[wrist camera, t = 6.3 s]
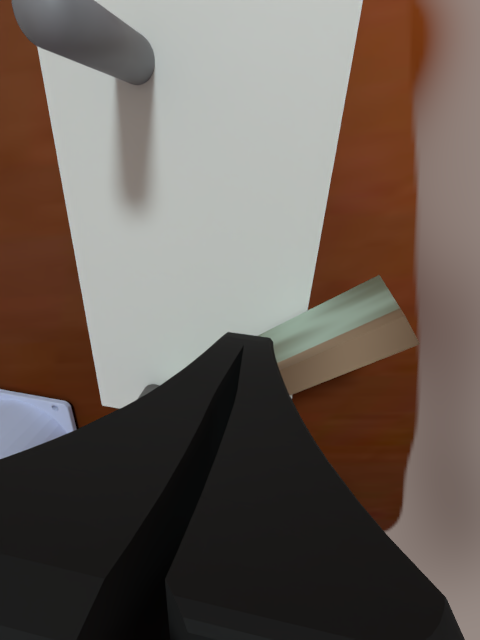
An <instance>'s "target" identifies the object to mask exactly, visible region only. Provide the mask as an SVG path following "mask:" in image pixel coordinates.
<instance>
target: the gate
mask: <svg viewBox="0 0 480 640" xmlns="http://www.w3.org/2000/svg"><path fill="white" fill-rule="evenodd" d="M258 336H261V337H268V338H271V340H272V341H273V347H274V353H275V357H276V361H277V364H278V367H279V370H280V373H281V375H282V378H283V381H284V383H285V386H286V388H287V390H288V393H289V395H292V394H295V393H297V392H300V391H302V390H305V389H307V388H310V387H313V386H315V385H318V384H320V383H323V382H325V381H328V380H330V379H333V378H335V377H338V376H340V375H343V374H345V373H348V372H350V371H353V370H355V369H358V368H361V367H363V366H366V365H368V364H371V363H373V362H376V361H378V360H381V359H383V358H386V357H388V356H391V355H393V354H396V353H398V352H401V351H403V350H406V349H409V348H411V347H414V346H416V345H419V342H418V340H417V338H416V336H415V334H414V332H413V330H412V328H411V326H410V324H409V323H408V321H407V319H406V317H405V315H404V313H403V312H402V310H401V309H400V307H399V306H398V304H397V303H396V301H395V299H394V298H393V296H392V295H391V293H390V291H389V290H388V288H387V287H386V285H385V283H384V282H383V280H382V279H381V277H380V275H378V276H376V277H374V278H372V279H370V280H368V281H366V282H364V283H362V284H360V285H358V286H356V287H354V288H352V289H350V290H348V291H346V292H344V293H342V294H340V295H338V296H336V297H334V298H332V299H330V300H328V301H326V302H324V303H322V304H320V305H318V306H316V307H314V308H312V309H310V310H308V311H306V312H304V313H302V314H300V315H298V316H296V317H294V318H292V319H290V320H288V321H286V322H284V323H282V324H280V325H278V326H276V327H274V328H272V329H270V330H268V331H266V332H264V333H262V334H260V335H258ZM158 386H160V385H157V384H150V385H147V386H146V387H145V388H144V390H143V391H142V393H141V394H140V396H139V397H138V399H139V398H140V397H142V396H144V395H146V394H147V393H149V392H151V391H152V390H154V389H155V388H157V387H158Z"/></svg>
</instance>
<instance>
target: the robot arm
mask: <svg viewBox="0 0 480 640" xmlns="http://www.w3.org/2000/svg"><path fill="white" fill-rule="evenodd" d="M0 640H465V639H464V637H463V635H462V633H461V631H460V628H459V626H458V624H457V621H456V619H455V617H454V615H453V613H452V610H451V608H450V606H449V603H448V601H447V599H446V597H445V596H444V595H443V594H442V593H441V592H440V591H439V590H438V589H437V588H436V587H435V586H434V585H433V583H432V582H431V581H430V580H429V579H428V578H427V577H426V576H425V575H424V574H423V573H422V572H421V571H420V570H419V569H418V568H417V566H416V565H415V564H414V563H413V562H412V561H411V560H410V559H409V558H408V557H407V556H406V555H405V554H404V553H403V552H402V551H401V550H400V549H399V547H398V546H397V545H396V544H395V543H394V542H393V541H392V540H391V539H390V538H389V537H388V536H387V535H386V534H385V532H384V531H383V530H382V529H381V528H380V526H379V525H378V524H377V523H376V522H375V521H374V519H373V518H372V517H371V516H370V515H369V513H368V512H367V511H366V510H365V509H364V507H363V506H362V505H361V504H360V503H359V502H358V500H357V499H356V498H355V496H354V495H353V494H352V492H351V491H350V490H349V488H348V487H347V486H346V484H345V483H344V482H343V480H342V479H341V478H340V476H339V475H338V474H337V472H336V471H335V470H334V468H333V467H332V466H331V464H330V463H329V462H328V460H327V459H326V457H325V456H324V454H323V453H322V451H321V450H320V448H319V447H318V445H317V444H316V442H315V441H314V439H313V438H312V436H311V434H310V433H309V431H308V429H307V428H306V426H305V424H304V422H303V421H302V419H301V417H300V415H299V413H298V411H297V409H296V407H295V405H294V403H293V401H292V399H291V397H290V395H289V393H288V390H287V388H286V386H285V383H284V381H283V378H282V375H281V373H280V370H279V367H278V364H277V361H276V357H275V353H274V347H273V341H272V340H271V338H268V337H261V336H254V335H247V334H239V333H232V332H227V333H226V334H224V335H223V336H222V337H221V338H220V339H218V340H217V341H216V342H215V343H214V344H213V345H212V346H211V347H209V348H208V349H207V350H206V351H205V352H204V353H203V354H201V355H200V356H199V357H198V358H196V359H195V360H194V361H193V362H191V363H190V364H189V365H188V366H186V367H185V368H184V369H183V370H181V371H180V372H178V373H177V374H176V375H174V376H173V377H171V378H170V379H169V380H167V381H166V382H164V383H163V384H161V385H160V386H158V387H157V388H155V389H154V390H152V391H151V392H149V393H147V394H146V395H144V396H142V397H140V398H139V399H137V400H135V401H134V402H132V403H130V404H128V405H126V406H124V407H123V408H121V409H119V410H116V411H114V412H112V413H110V414H108V415H106V416H104V417H102V418H100V419H98V420H96V421H94V422H92V423H90V424H88V425H86V426H84V427H81V428H79V429H76V425H75V421H74V417H73V412H72V408H71V405H70V404H69V403H68V402H67V401H63V400H58V399H52V398H47V397H41V396H35V395H30V394H24V393H19V392H13V391H7V390H2V389H0Z"/></svg>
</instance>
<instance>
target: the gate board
mask: <svg viewBox="0 0 480 640" xmlns="http://www.w3.org/2000/svg"><path fill="white" fill-rule="evenodd" d="M362 3H363V0H12V6H13V11H14V14H15V17H16V20H17V22H18V25H19V26H20V28H21V30H22V31H23V33H24V34H25V36H26V37H27V38H28V39H29V40H30V41H31V42H32V43H33V44H35V45H36V46H37V47H38V53H39V58H40V64H41V69H42V75H43V80H44V86H45V92H46V97H47V103H48V108H49V114H50V119H51V125H52V130H53V136H54V142H55V147H56V153H57V158H58V164H59V169H60V175H61V180H62V186H63V191H64V197H65V203H66V208H67V214H68V219H69V225H70V230H71V236H72V241H73V247H74V253H75V258H76V264H77V269H78V275H79V280H80V286H81V291H82V297H83V303H84V308H85V314H86V319H87V325H88V330H89V336H90V341H91V347H92V353H93V358H94V364H95V369H96V375H97V380H98V386H99V391H100V397H101V402H102V405H103V406H109V407H114V408H120V409H121V408H123V407H124V406H126V405H128V404H130V403H132V402H134V401H135V400H137V399H138V397H139V396H140V394H141V393H142V391H143V390H144V388H145V387H146V386H147V385H150V384H157V385H161V384H163V383H164V382H166V381H167V380H169V379H170V378H171V377H173V376H174V375H176V374H177V373H178V372H180V371H181V370H183V369H184V368H185V367H186V366H188V365H189V364H190V363H191V362H193V361H194V360H195V359H196V358H198V357H199V356H200V355H201V354H203V353H204V352H205V351H206V350H207V349H208V348H209V347H211V346H212V345H213V344H214V343H215V342H216V341H217V340H218V339H220V338H221V337H222V336H223V335H224V334H226V333H227V332H232V333H239V334H247V335H254V336H258V335H260V334H262V333H264V332H266V331H268V330H270V329H272V328H274V327H276V326H278V325H280V324H282V323H284V322H286V321H288V320H290V319H292V318H294V317H296V316H298V315H300V314H302V313H304V312H306V311H307V310H308V304H309V299H310V293H311V288H312V282H313V276H314V271H315V265H316V260H317V254H318V248H319V243H320V237H321V232H322V226H323V220H324V215H325V209H326V204H327V198H328V193H329V187H330V181H331V176H332V170H333V165H334V159H335V153H336V148H337V142H338V137H339V131H340V126H341V120H342V114H343V109H344V103H345V98H346V92H347V86H348V81H349V75H350V70H351V64H352V59H353V53H354V47H355V42H356V36H357V31H358V25H359V19H360V14H361V8H362ZM290 397H291V399H292V395H290Z"/></svg>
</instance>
